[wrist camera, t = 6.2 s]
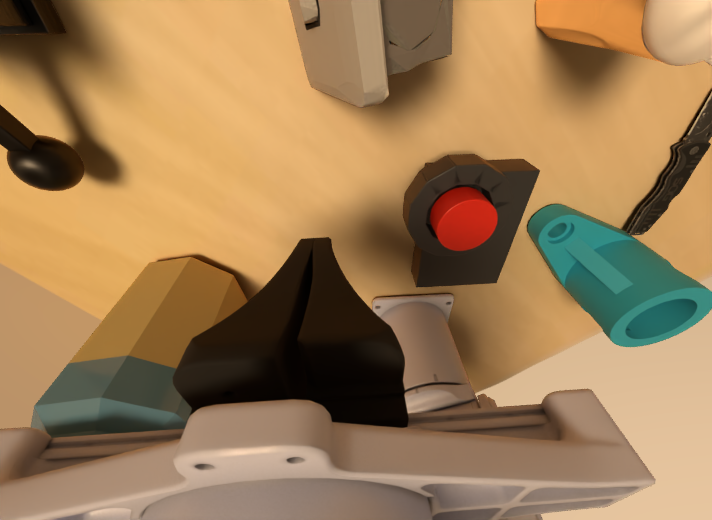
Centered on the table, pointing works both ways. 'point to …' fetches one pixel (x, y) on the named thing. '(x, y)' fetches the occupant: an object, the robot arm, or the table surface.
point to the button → (463, 218)
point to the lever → (39, 156)
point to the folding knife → (676, 171)
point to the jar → (139, 354)
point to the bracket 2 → (617, 278)
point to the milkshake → (634, 27)
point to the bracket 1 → (29, 18)
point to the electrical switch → (368, 42)
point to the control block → (502, 189)
